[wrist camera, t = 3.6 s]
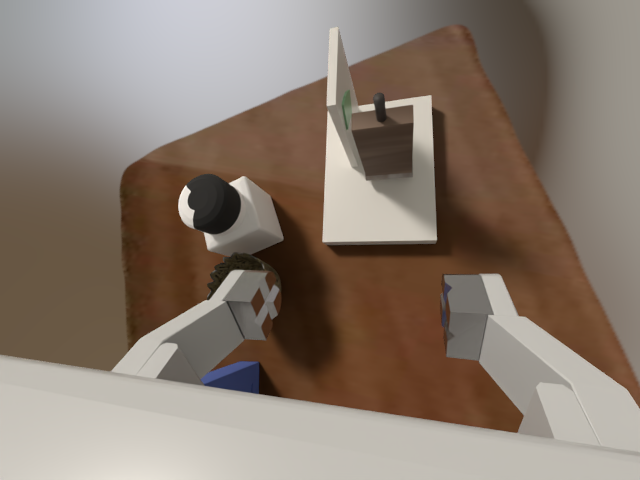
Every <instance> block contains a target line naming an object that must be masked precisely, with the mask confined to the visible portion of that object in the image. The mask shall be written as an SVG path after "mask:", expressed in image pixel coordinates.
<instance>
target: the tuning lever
mask: <svg viewBox="0 0 640 480" xmlns="http://www.w3.org/2000/svg"><path fill="white" fill-rule="evenodd" d="M373 100H374V106H375V110H372V111H365V112H358V113H352V118H351V131H352V134H353V137H354V140H355V144H356V147H357V150H358V153H359V156H360V159H361V162H362V165H363V168H364V171H365V178H366V181H368V180H382V179H395V178H408V177H413V159H412V154H413V127H414V116H413V105H407V106H400V107H393V108H385V99H384V95H383V94H382V93H377V94H375V95H374V97H373Z"/></svg>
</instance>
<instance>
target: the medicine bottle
mask: <svg viewBox="0 0 640 480" xmlns="http://www.w3.org/2000/svg"><path fill="white" fill-rule="evenodd" d="M178 207H179V214H180V217H181V219H182V221H183V222H184V223H185V224H186V225H187V226H189V227H191V228H193V229H196V230H199V231H202V232H204V235H205V239H206V244H207V248H208V250H209V251H212V252H215V253H219V254H223V255H227V256H231V255H232V253H234V252H238V253H247V254H250V255H251V254H253V253H256V252H258V251H260V250H263V249H265V248H267V247H270V246H272V245H274V244H276V243H279V242H281V241H283V240H284V238H283V234H282V231H281V228H280V225H279V222H278V218H277V215H276V212H275V209H274V206H273V202H272V199H271V196H270V195H269V194H267V193H266V192H265V191H263V190H262V189H261V188H260V187H258V186H257V185H256V184H254V183H253V182H252V181H251V180H249V179H248V178H247V177H241V178H239V179H237V180H235V181H233V182H231V183H229V184H228V183H227V182H225V181H224V180H222V179H221V178H219V177H218V176H216V175H213V174H204V175H200V176H198V177H196V178H194V179H192V180H191V181H190V182H189V183H188V184H187V185H186V186H185V187H184V189H183V191H182V193H181V195H180V198H179V204H178Z"/></svg>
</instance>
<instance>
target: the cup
mask: <svg viewBox="0 0 640 480" xmlns="http://www.w3.org/2000/svg"><path fill="white" fill-rule="evenodd" d="M223 261H224V262H225V263H220V264H218V265H216V266H215V267H214V268H215V271H213V272H211V274H210V276H211V278H212V279H213V280H214V282H212V283H208V284H207V286H208V288H209V289H211V292H210V293H209V294H208V297H207V300H210V299H211V297H212V296H213V295H214V293H215V292H216V291H217V289H218V288H219V287H220V285H221V284H222V283H223V281H224V280H225V279H226V277H227V276H228V275H229V273H230V272H231V271H233V270H258V271H272V272H273V273H274V275H275V277H276V282H275V284H274V285H275V286H277V287H278V288H279V289H280V292H281V289H282V287H281V280H280V277H279V275H278V273H277V272H276V271H275V270H274V269H273V268H272V267H271V266H270V265H269V264H267V263H265V262H264V261H262V260H260V259H258V258H256V257H255V256H252V255H250V254H247V253H238V252H234V253H232V255H231V257H223Z"/></svg>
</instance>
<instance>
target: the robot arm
mask: <svg viewBox="0 0 640 480" xmlns="http://www.w3.org/2000/svg"><path fill="white" fill-rule="evenodd" d="M275 282H276V277H275V275H274V273H273V272H272V271H258V270H233V271H231V272H230V273H229V275H228V276H227V277H226V279H225V280H224V281H223V283H222V284H221V285H220V287H219V288H218V289H217V291H216V292H215V293H214V295H213V296H212V297H211V299H210V300H205V301H203V302H202V303H200V304H198V305H196V306H195V307H193V308H191V309H190V310H188V311H186V312H185V313H183V314H181V315H179V316H178V317H176V318H174V319H173V320H171V321H169V322H168V323H166V324H164V325H162V326H161V327H159V328H157V329H156V330H154V331H152V332H151V333H149V334H147V335H145V336H144V337H142V338H140V339H139V341H138V342H137V343H136V344H135V345H134V346H133V347H132V348H131V350H130V351H129V352H128V353H127V354H126V355H125V357H123V359H122V360H121V361H120V362H119V363H118V364H117V365H116V366H115V368H114V369H113V370H112V371H111V372H110V371H103V370H96V369H89V368H83V367H76V366H70V365H64V364H57V363H50V362H44V361H37V360H31V359H24V358H18V357H11V356H4V355H0V480H640V409H639V407H638V406H637V404H636V403H635V401H634V400H633V398H632V397H631V395H630V393H629V392H628V390H626V389H625V388H624V387H622V386H621V385H619V384H618V383H617V382H615V381H614V380H612V379H611V378H610V377H608V376H607V375H606V374H604V373H603V372H601V371H600V370H599V369H597V368H596V367H594V366H593V365H592V364H590V363H589V362H587V361H586V360H585V359H583V358H582V357H580V356H579V355H578V354H576V353H575V352H573V351H572V350H571V349H569V348H568V347H567V346H565V345H564V344H562V343H561V342H560V341H558V340H557V339H555V338H554V337H553V336H551V335H550V334H548V333H547V332H546V331H544V330H543V329H541V328H540V327H539V326H537V325H536V324H534V323H533V322H532V321H530V320H529V319H528V318H526V317H519V316H518V313H517V311H516V309H515V306H514V304H513V302H512V300H511V297H510V295H509V293H508V290H507V288H506V286H505V283H504V281H503V279H502V277H501V275H499V274H442V281H441V286H442V292H443V293H442V294H441V295H440V315H441V324H442V326H443V327H444V336H443V338H444V345H445V351H446V357H453V358H461V359H470V360H478V361H479V363H480V364H481V365H482V366H483V367H484V369H485V370H486V371H487V372H488V373H489V375H490V376H491V377H492V378H493V379H494V380H495V382H496V383H497V384H498V385H499V386H500V388H501V389H502V390H503V391H504V392H505V394H506V395H507V396H508V397H509V398H510V399H511V401H512V402H513V403H514V404H515V405H516V407H517V408H518V409H519V410H520V411H521V412H522V414H523V415H524V418H523V420H522V423H521V425H520V428H519V430H518V433H512V432H505V431H499V430H492V429H486V428H479V427H472V426H466V425H459V424H453V423H446V422H439V421H433V420H426V419H420V418H413V417H406V416H400V415H393V414H387V413H380V412H373V411H367V410H360V409H354V408H347V407H340V406H334V405H327V404H321V403H314V402H307V401H301V400H294V399H288V398H281V397H275V396H268V395H261V394H255V393H248V392H242V391H235V390H229V389H222V388H215V387H209V386H205V385H204V384H203V382H202V381H201V378H203V377H204V376H205V375H206V374H207V373H208V372H209V371H210V370H211V369H213V368H214V367H215V366H216V365H217V364H218V363H219V362H220V361H222V360H223V359H224V358H225V357H226V356H227V355H228V354H229V353H230V352H232V351H233V350H234V349H235V348H236V347H237V346H238V345H239V344H240V343H242V342H243V341H244V339H255V340H266V339H267V337H268V335H269V333H270V331H271V329H272V326H273V323H272V319H273V318H274V317H276V316H277V315H278V313H279V311H280V309H281V302H282V298H281V292H280V289H279V288H278V287H277V286H275V285H274V284H275Z"/></svg>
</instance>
